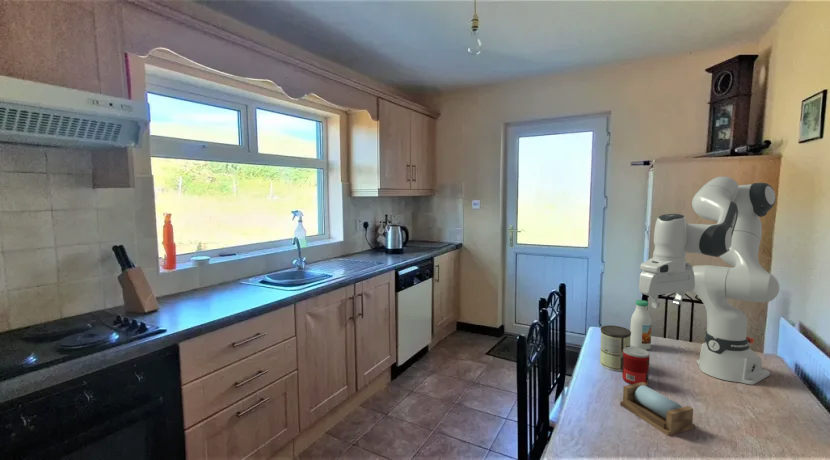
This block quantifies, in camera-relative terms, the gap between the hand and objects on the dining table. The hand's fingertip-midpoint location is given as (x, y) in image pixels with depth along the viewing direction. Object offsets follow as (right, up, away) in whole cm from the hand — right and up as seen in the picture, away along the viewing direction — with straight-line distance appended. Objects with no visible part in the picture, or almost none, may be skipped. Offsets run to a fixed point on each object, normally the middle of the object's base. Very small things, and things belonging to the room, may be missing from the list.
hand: (666, 306), depth 124 cm
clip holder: (-11, -31, -11) cm, 34 cm away
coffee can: (-6, -27, +22) cm, 36 cm away
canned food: (-5, -29, +10) cm, 31 cm away
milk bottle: (+14, -25, +39) cm, 48 cm away
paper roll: (-11, -30, -11) cm, 33 cm away
